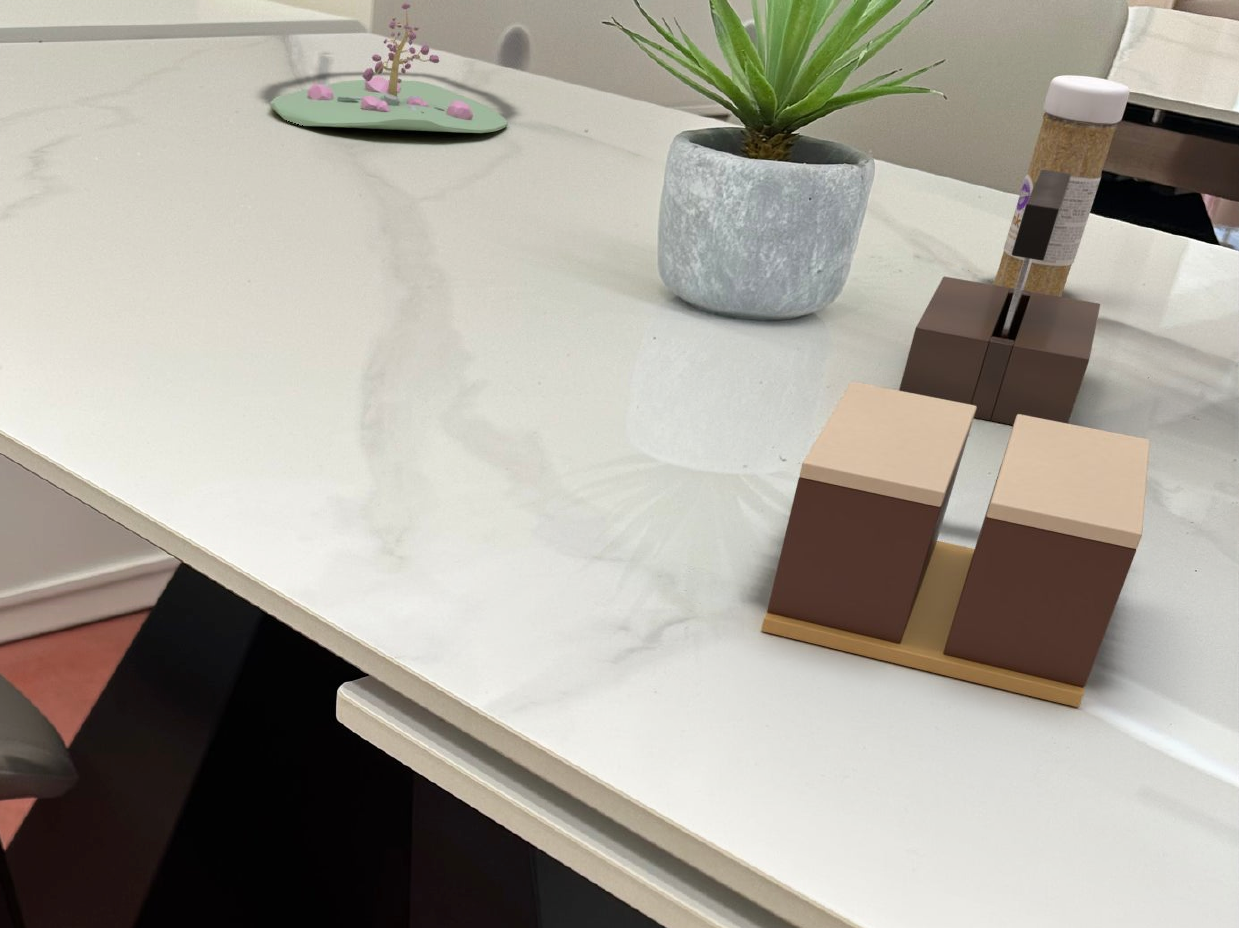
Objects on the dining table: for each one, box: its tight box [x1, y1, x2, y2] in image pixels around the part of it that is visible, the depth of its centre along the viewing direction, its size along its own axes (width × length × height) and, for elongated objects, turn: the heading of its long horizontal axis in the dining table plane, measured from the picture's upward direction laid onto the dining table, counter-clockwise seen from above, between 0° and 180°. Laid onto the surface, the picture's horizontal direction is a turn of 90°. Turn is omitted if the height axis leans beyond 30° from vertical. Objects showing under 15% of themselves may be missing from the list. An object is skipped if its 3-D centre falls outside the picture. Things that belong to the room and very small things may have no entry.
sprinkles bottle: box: [993, 74, 1131, 297], centre depth 101 cm, size 5×5×13 cm
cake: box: [760, 381, 1151, 708], centre depth 65 cm, size 12×12×7 cm
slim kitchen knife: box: [1001, 170, 1071, 339], centre depth 88 cm, size 10×2×10 cm, turn 157°
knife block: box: [898, 276, 1101, 426], centre depth 90 cm, size 12×9×4 cm
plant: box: [269, 2, 509, 134], centre depth 140 cm, size 25×21×9 cm
